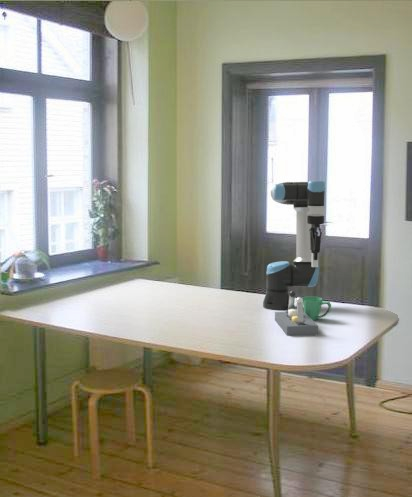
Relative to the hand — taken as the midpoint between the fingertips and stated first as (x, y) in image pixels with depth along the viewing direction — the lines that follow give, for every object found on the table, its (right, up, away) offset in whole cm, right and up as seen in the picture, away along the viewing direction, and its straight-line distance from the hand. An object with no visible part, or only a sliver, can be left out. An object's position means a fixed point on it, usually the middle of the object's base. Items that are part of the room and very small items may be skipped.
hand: (314, 266), depth 327 cm
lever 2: (-7, -24, -5) cm, 26 cm away
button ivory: (-9, -23, +9) cm, 26 cm away
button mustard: (-8, -26, +2) cm, 27 cm away
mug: (+4, -26, +20) cm, 33 cm away
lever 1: (-9, -21, +15) cm, 28 cm away
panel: (-8, -28, +5) cm, 30 cm away
